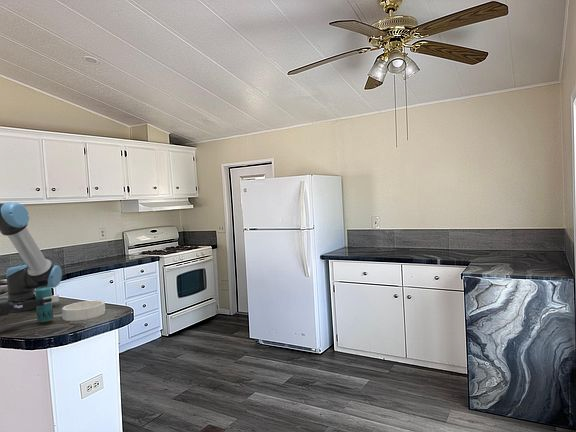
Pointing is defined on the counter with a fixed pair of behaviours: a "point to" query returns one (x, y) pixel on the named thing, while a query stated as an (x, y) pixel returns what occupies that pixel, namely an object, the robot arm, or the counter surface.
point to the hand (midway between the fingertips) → (55, 296)
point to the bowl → (83, 310)
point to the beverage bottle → (44, 311)
